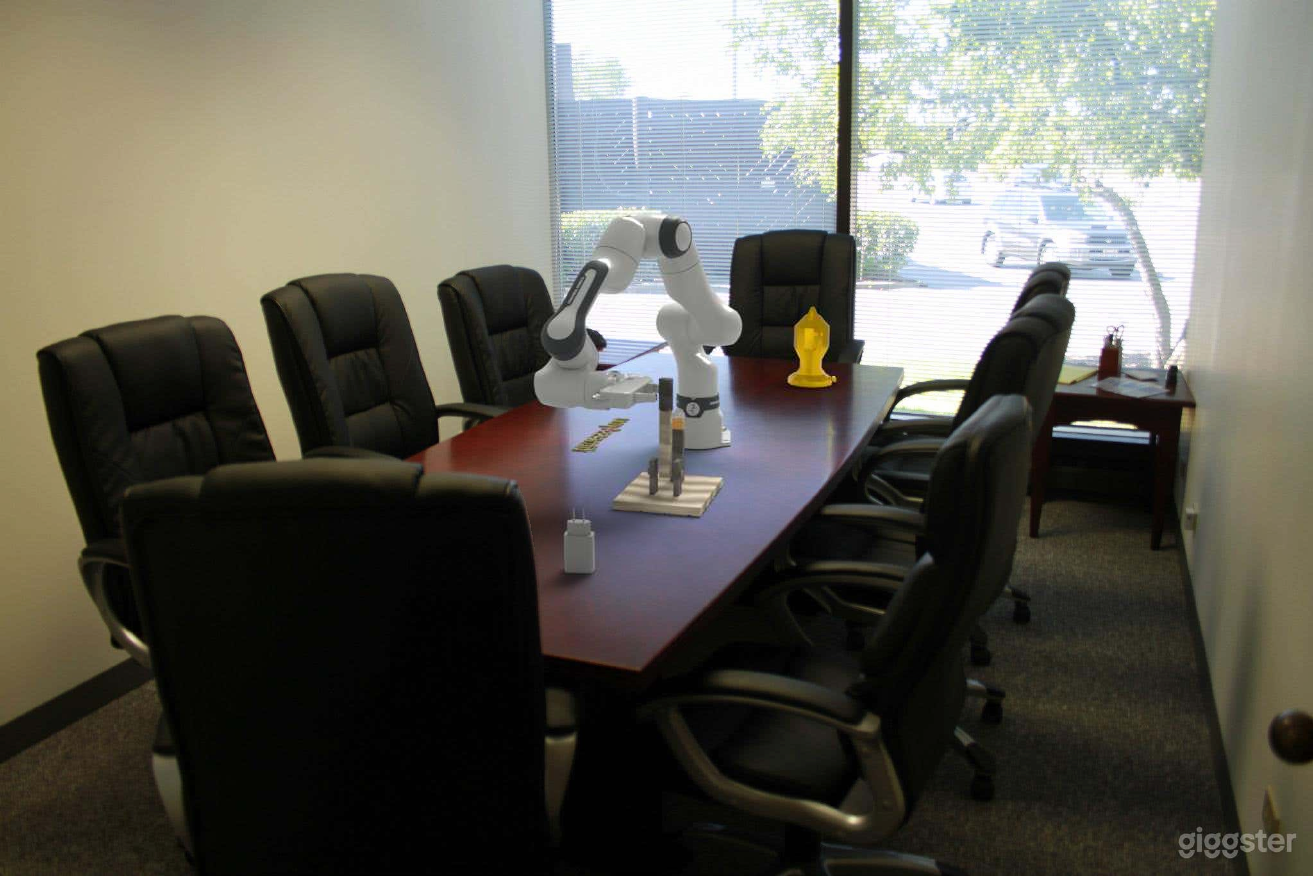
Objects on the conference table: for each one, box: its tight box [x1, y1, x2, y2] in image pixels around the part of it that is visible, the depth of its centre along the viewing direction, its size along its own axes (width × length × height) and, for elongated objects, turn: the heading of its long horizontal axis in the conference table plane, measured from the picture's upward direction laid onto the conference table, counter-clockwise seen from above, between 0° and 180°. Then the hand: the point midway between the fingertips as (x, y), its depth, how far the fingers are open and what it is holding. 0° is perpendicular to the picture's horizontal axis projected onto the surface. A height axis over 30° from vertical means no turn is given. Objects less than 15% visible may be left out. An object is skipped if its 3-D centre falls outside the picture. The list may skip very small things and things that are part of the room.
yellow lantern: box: [787, 306, 837, 388], centre depth 359 cm, size 18×24×28 cm
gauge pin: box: [672, 413, 685, 430], centre depth 229 cm, size 10×5×2 cm, turn 165°
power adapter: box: [563, 508, 596, 574], centre depth 182 cm, size 3×5×12 cm, turn 84°
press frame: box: [612, 422, 724, 518], centre depth 225 cm, size 24×20×16 cm
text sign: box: [571, 417, 630, 453], centre depth 286 cm, size 40×1×8 cm
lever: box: [658, 377, 674, 479], centre depth 219 cm, size 3×3×22 cm
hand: (662, 393), depth 218 cm, fingers open, 8 cm apart
